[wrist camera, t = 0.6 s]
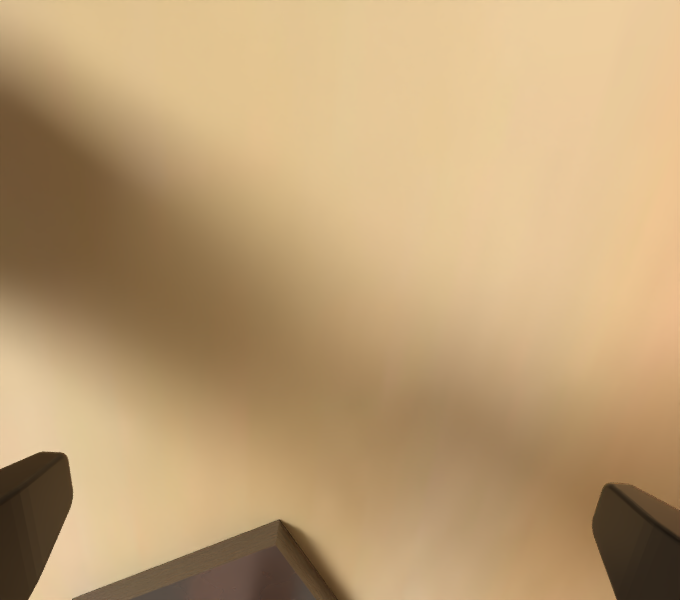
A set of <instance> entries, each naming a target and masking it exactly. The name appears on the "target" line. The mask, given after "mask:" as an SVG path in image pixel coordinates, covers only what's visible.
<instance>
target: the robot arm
mask: <svg viewBox="0 0 680 600" xmlns="http://www.w3.org/2000/svg"><path fill="white" fill-rule="evenodd" d="M72 499H73V487H72V481H71V474H70V468H69V461H68V458H67V456H66V455H65V454H64V453H61V452H39V453H37V454H34V455H32V456H30V457H27V458H25V459H23V460H20V461H18V462H16V463H13V464H11V465H9V466H6V467H4V468H2V469H0V600H28V599H29V597H30V595H31V593H32V592H33V590H34V588H35V586H36V584H37V582H38V580H39V578H40V576H41V574H42V572H43V570H44V567H45V565H46V563H47V561H48V558H49V556H50V554H51V551H52V549H53V547H54V544H55V542H56V540H57V538H58V535H59V533H60V531H61V528H62V526H63V524H64V521H65V519H66V517H67V514H68V512H69V510H70V507H71V504H72ZM592 529H593V534H594V538H595V541H596V543H597V546H598V549H599V552H600V555H601V557H602V560H603V563H604V566H605V568H606V571H607V574H608V577H609V580H610V582H611V585H612V588H613V591H614V594H615V596H616V599H617V600H680V510H678V509H676V508H674V507H673V506H671V505H669V504H667V503H665V502H663V501H661V500H659V499H657V498H656V497H654V496H652V495H650V494H648V493H646V492H644V491H642V490H640V489H639V488H637V487H635V486H633V485H630V484H624V483H608V484H606V485H605V486H604V487H603V489H602V492H601V495H600V498H599V501H598V504H597V507H596V510H595V513H594V517H593V522H592Z"/></svg>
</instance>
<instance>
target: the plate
mask: <svg viewBox="0 0 680 600" xmlns="http://www.w3.org/2000/svg"><path fill="white" fill-rule="evenodd" d="M72 600H337V598H336V597H335V596H334V594H333V593H332V591H331V590H330V589H329V587H328V586H327V585H326V583H325V582H324V580H323V579H322V578H321V576H320V575H319V574H318V572H317V571H316V569H315V568H314V567H313V565H312V564H311V563H310V561H309V560H308V558H307V557H306V556H305V554H304V553H303V552H302V550H301V549H300V547H299V546H298V545H297V543H296V542H295V541H294V539H293V538H292V536H291V535H290V534H289V532H288V531H287V530H286V528H285V527H284V525H283V524H282V523H281V521H280V520H277V521H274V522H272V523H269V524H267V525H264V526H261V527H259V528H256V529H254V530H251V531H248V532H246V533H243V534H241V535H238V536H235V537H233V538H230V539H227V540H225V541H222V542H220V543H217V544H214V545H212V546H209V547H207V548H204V549H201V550H199V551H196V552H193V553H191V554H188V555H186V556H183V557H180V558H178V559H175V560H173V561H170V562H167V563H165V564H162V565H160V566H157V567H154V568H152V569H149V570H146V571H144V572H141V573H139V574H136V575H133V576H131V577H128V578H126V579H123V580H120V581H118V582H115V583H113V584H110V585H107V586H105V587H102V588H99V589H97V590H94V591H92V592H89V593H86V594H84V595H81V596H79V597H76V598H73V599H72Z"/></svg>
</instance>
